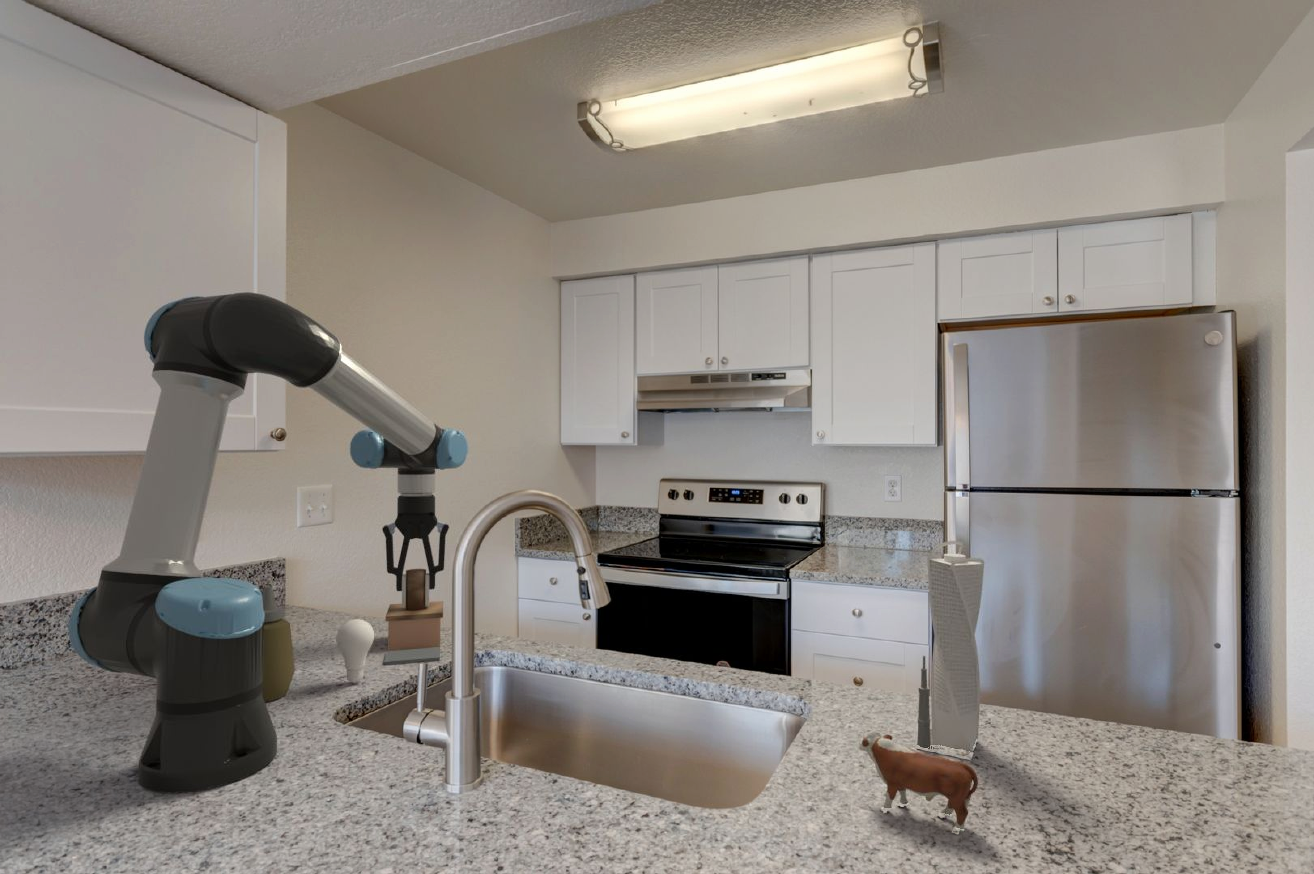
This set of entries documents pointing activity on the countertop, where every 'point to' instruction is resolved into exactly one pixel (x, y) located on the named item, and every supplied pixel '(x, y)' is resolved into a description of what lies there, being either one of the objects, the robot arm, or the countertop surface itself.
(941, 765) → the bull figurine
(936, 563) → the skyscraper
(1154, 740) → the countertop surface
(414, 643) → the pink open box
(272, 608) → the squeeze bottle
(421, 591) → the lid
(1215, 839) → the countertop surface
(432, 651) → the mat
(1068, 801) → the countertop surface
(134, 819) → the countertop surface
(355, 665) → the lightbulb
